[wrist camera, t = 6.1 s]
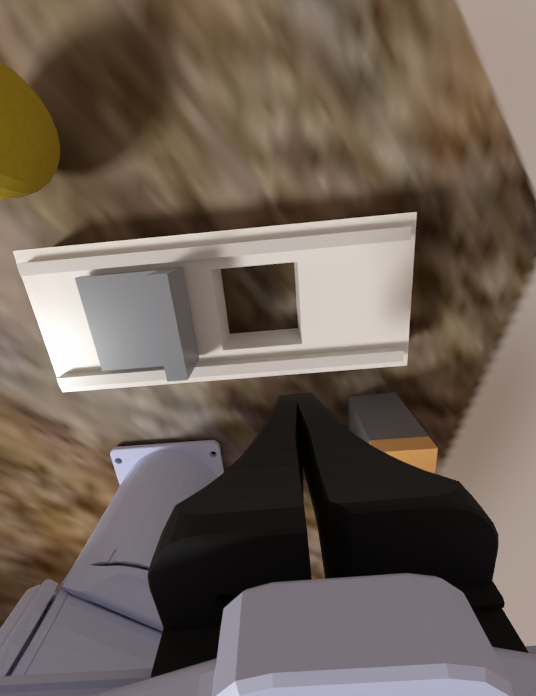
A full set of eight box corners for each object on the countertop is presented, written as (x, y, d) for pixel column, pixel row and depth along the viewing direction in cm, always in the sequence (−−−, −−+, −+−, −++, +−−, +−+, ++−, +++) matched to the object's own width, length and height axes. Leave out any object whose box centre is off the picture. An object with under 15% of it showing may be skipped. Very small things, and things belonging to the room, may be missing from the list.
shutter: (182, 266, 16) (167, 273, 14) (199, 359, 18) (187, 379, 15) (81, 276, 16) (47, 284, 14) (107, 366, 18) (81, 388, 16)
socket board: (394, 214, 18) (423, 211, 15) (388, 347, 21) (412, 370, 17) (50, 247, 19) (1, 251, 16) (89, 371, 22) (54, 398, 18)
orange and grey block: (393, 431, 23) (432, 496, 18) (348, 434, 23) (373, 500, 18) (395, 392, 22) (437, 448, 17) (348, 395, 22) (374, 452, 17)
